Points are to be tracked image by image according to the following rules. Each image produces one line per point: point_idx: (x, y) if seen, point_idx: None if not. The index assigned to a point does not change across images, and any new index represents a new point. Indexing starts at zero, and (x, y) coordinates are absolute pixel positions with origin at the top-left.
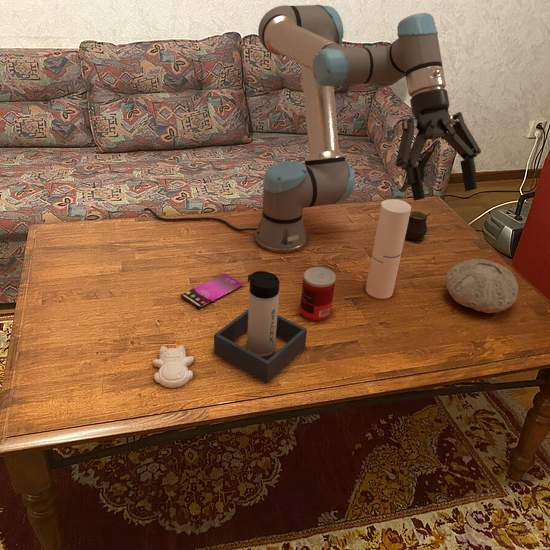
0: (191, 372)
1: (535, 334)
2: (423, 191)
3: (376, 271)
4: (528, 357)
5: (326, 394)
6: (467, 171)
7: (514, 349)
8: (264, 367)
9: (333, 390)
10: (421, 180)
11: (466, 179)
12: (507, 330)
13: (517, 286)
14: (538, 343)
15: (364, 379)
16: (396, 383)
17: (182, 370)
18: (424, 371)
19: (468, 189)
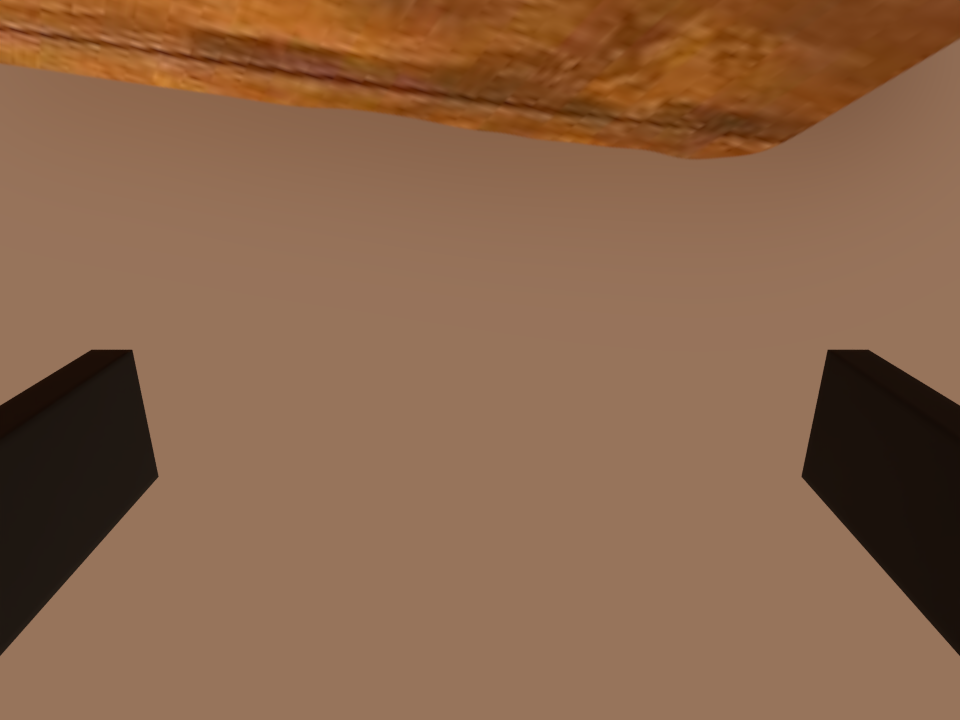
0: None
1: (864, 66)
2: (119, 518)
3: None
4: (720, 138)
5: (6, 54)
6: (950, 565)
7: (720, 98)
8: None
9: (31, 47)
10: (39, 607)
11: (895, 458)
12: (806, 11)
13: None
14: (818, 103)
15: (149, 40)
16: (254, 90)
17: None
18: (367, 78)
19: (822, 405)
